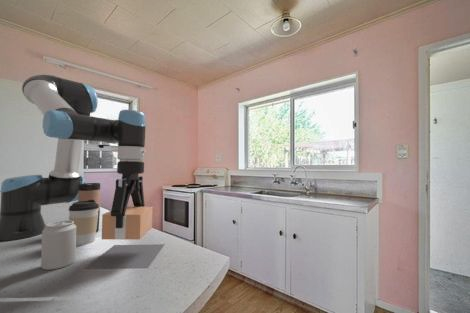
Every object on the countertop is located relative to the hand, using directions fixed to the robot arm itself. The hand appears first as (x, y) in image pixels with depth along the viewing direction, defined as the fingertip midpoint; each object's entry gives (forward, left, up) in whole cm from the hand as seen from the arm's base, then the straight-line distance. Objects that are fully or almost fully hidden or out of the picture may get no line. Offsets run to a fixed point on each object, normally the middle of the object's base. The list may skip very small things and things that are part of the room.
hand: (128, 232), depth 67 cm
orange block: (0, 0, 0) cm, 0 cm away
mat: (0, 0, -7) cm, 7 cm away
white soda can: (+5, -17, -8) cm, 19 cm away
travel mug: (-25, -27, -8) cm, 37 cm away
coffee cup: (-12, -21, -8) cm, 25 cm away
